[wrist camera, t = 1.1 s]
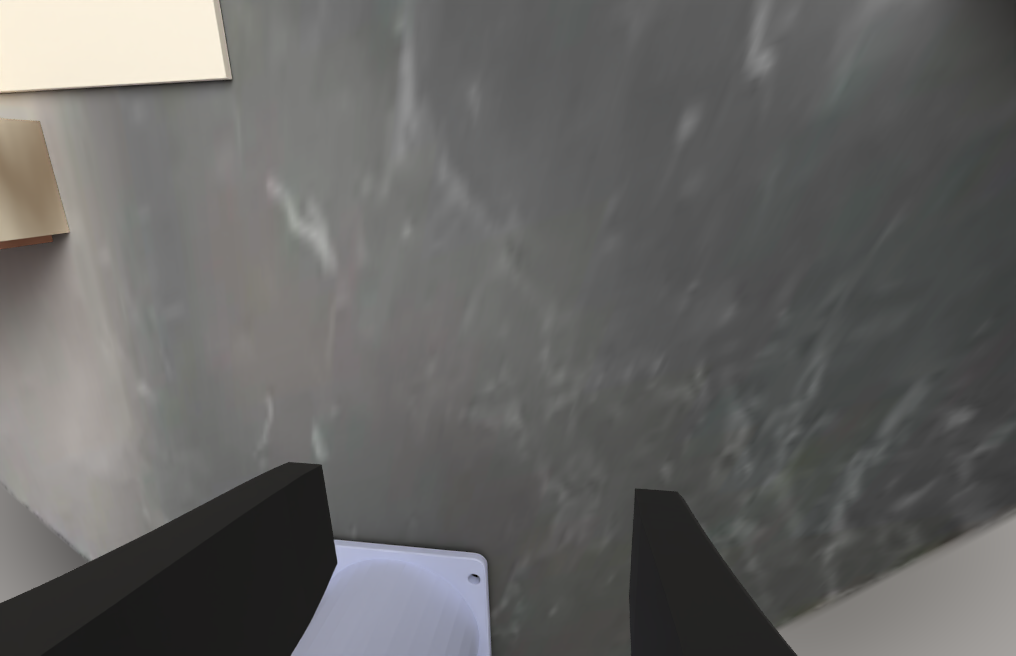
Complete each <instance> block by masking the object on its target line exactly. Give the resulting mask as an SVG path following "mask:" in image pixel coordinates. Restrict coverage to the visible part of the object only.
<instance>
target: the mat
mask: <svg viewBox="0 0 1016 656" xmlns="http://www.w3.org/2000/svg"><path fill="white" fill-rule="evenodd" d="M229 79H232V74H231V68H230V62H229V56H228V50H227V44H226V38H225V32H224V26H223V20H222V14H221V8H220V2H219V0H0V93H8V92H25V91H42V90H59V89H76V88H93V87H110V86H127V85H144V84H161V83H178V82H195V81H212V80H229Z"/></svg>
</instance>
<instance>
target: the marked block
mask: <svg viewBox="0 0 1016 656" xmlns="http://www.w3.org/2000/svg"><path fill="white" fill-rule="evenodd" d="M69 232H70V231H69V227H68V224H67V220H66V216H65V213H64V209H63V205H62V202H61V198H60V194H59V191H58V187H57V184H56V180H55V176H54V173H53V169H52V165H51V162H50V158H49V154H48V151H47V147H46V143H45V140H44V136H43V132H42V129H41V125H40V121H29V120H15V119H2V118H0V249H6V248H13V247H20V246H26V245H33V244H40V243H47V242H53V239H52V236H51V235H53V234H61V233H69Z"/></svg>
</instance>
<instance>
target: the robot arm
mask: <svg viewBox="0 0 1016 656" xmlns="http://www.w3.org/2000/svg"><path fill="white" fill-rule="evenodd" d="M471 574H476V575H478V576H479V577H474V576H473V575H471ZM629 603H630V633H631V656H797V655H796V653H795V652H794V651H793V650H792V649H791V647H790V646H789V645H788V644H787V643H786V641H785V640H784V639H783V638H782V636H781V635H780V634H779V633H778V631H777V630H776V629H775V628H774V626H773V625H772V624H771V623H770V621H769V620H768V619H767V617H766V616H765V615H764V614H763V612H762V611H761V610H760V608H759V607H758V606H757V604H756V603H755V602H754V600H753V599H752V598H751V596H750V595H749V594H748V592H747V591H746V590H745V588H744V587H743V586H742V584H741V583H740V582H739V580H738V579H737V578H736V576H735V575H734V574H733V572H732V571H731V569H730V568H729V567H728V565H727V564H726V562H725V561H724V560H723V558H722V557H721V555H720V554H719V552H718V551H717V550H716V548H715V547H714V545H713V544H712V542H711V541H710V539H709V538H708V536H707V535H706V533H705V532H704V530H703V529H702V527H701V526H700V524H699V523H698V521H697V520H696V518H695V516H694V515H693V513H692V512H691V510H690V508H689V507H688V505H687V503H686V502H685V500H684V499H683V498H682V496H681V495H680V494H679V493H678V492H674V491H661V490H648V489H635V502H634V519H633V537H632V555H631V572H630V590H629ZM0 656H492V653H491V631H490V609H489V587H488V565H487V561H486V559H485V558H484V557H483V556H482V555H480V554H477V553H471V552H460V551H450V550H439V549H429V548H418V547H408V546H397V545H387V544H376V543H366V542H355V541H345V540H334V537H333V531H332V525H331V519H330V513H329V507H328V501H327V495H326V488H325V482H324V476H323V470H322V465H319V464H306V463H293V462H288V463H286V464H283V465H281V466H279V467H276V468H274V469H272V470H270V471H267V472H265V473H263V474H261V475H259V476H257V477H255V478H253V479H251V480H249V481H247V482H245V483H243V484H241V485H239V486H237V487H235V488H234V489H232V490H230V491H228V492H226V493H224V494H222V495H220V496H218V497H216V498H214V499H213V500H211V501H209V502H207V503H205V504H203V505H201V506H199V507H197V508H195V509H193V510H192V511H190V512H188V513H186V514H184V515H182V516H180V517H178V518H176V519H174V520H172V521H171V522H169V523H167V524H165V525H163V526H161V527H159V528H157V529H155V530H153V531H151V532H149V533H147V534H145V535H143V536H141V537H139V538H137V539H135V540H133V541H131V542H129V543H127V544H125V545H123V546H121V547H119V548H117V549H115V550H113V551H111V552H109V553H107V554H105V555H103V556H101V557H99V558H97V559H95V560H93V561H90V562H88V563H86V564H84V565H83V566H80V567H79V568H76V569H74V570H72V571H70V572H68V573H66V574H64V575H62V576H60V577H58V578H55V579H53V580H51V581H49V582H47V583H45V584H43V585H41V586H38V587H36V588H34V589H31V590H30V591H27V592H25V593H23V594H20V595H18V596H16V597H14V598H12V599H9V600H7V601H4V602H2V603H0Z"/></svg>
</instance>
